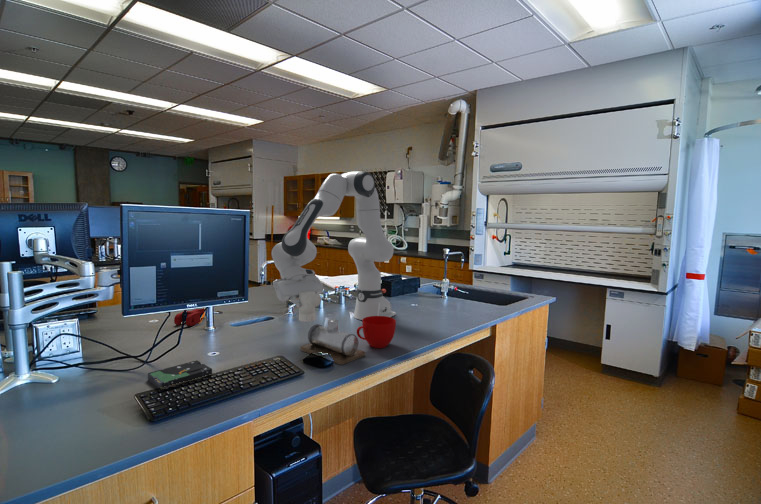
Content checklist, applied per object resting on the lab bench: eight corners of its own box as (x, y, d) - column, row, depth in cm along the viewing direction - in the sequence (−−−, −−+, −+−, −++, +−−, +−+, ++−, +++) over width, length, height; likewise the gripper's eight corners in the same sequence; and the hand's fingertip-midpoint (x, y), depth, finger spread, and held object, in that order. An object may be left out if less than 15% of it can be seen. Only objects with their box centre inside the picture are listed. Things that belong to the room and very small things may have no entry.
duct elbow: (308, 316, 161) (307, 289, 160) (322, 320, 156) (322, 293, 155) (295, 319, 156) (295, 292, 155) (310, 323, 151) (310, 295, 150)
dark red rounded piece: (189, 327, 170) (189, 316, 170) (174, 326, 171) (174, 315, 171) (210, 318, 186) (210, 307, 186) (196, 317, 187) (196, 306, 186)
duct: (324, 342, 155) (325, 312, 154) (364, 355, 142) (365, 323, 141) (300, 350, 146) (300, 318, 144) (341, 365, 133) (342, 330, 131)
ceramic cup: (346, 345, 152) (347, 320, 151) (380, 338, 163) (381, 314, 162) (367, 355, 142) (368, 328, 141) (402, 346, 153) (402, 321, 152)
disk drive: (196, 368, 128) (146, 381, 117) (196, 359, 128) (146, 372, 117) (212, 377, 122) (161, 392, 110) (212, 368, 121) (161, 382, 110)
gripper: (273, 275, 152) (288, 305, 147) (317, 270, 167) (331, 296, 161) (268, 285, 156) (282, 314, 150) (310, 279, 170) (324, 305, 165)
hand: (308, 305), depth 156 cm, fingers closed on duct elbow, 6 cm apart
